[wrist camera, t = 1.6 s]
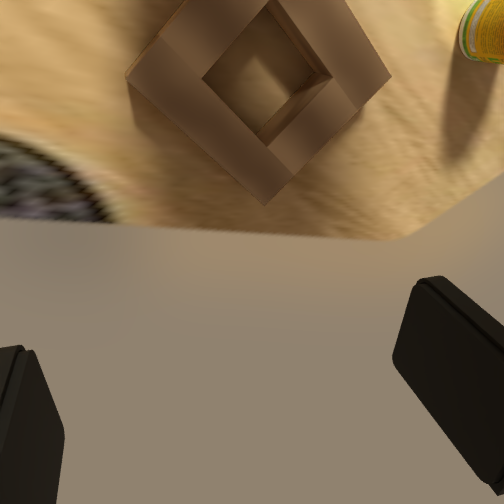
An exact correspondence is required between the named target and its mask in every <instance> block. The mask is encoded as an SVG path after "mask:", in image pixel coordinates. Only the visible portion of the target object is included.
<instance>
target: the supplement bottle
mask: <svg viewBox="0 0 504 504" xmlns="http://www.w3.org/2000/svg"><path fill="white" fill-rule="evenodd" d="M459 45H460V48H461V51H462V53H463V54H464V55H465V56H466V57H467V58H468V59H471V60H473V61H479V62H488V63H497V64H504V0H474V2H473V3H472V4H471V5H470V6H469V8H468V9H467V11H466V13H465V14H464V17H463V19H462V22H461V25H460V30H459Z"/></svg>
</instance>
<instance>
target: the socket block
mask: <svg viewBox="0 0 504 504" xmlns="http://www.w3.org/2000/svg"><path fill="white" fill-rule="evenodd" d="M264 6H266V8H267V9H268V10H269V12H270V13H271V14H272V16H273V17H274V18H275V20H276V21H277V22H278V24H279V25H280V26H281V28H282V29H283V30H284V32H285V33H286V34H287V36H288V37H289V39H290V40H291V41H292V43H293V44H294V45H295V47H296V48H297V49H298V51H299V52H300V53H301V55H302V56H303V57H304V59H305V60H306V61H307V63H308V64H309V65H310V67H311V68H312V69H313V71H314V73H313V74H312V75H311V76H310V77H309V78H308V79H307V80H306V82H305V83H304V84H303V85H302V86H301V87H300V88H299V89H298V90H297V91H296V92H295V93H294V94H293V95H292V97H291V98H290V99H289V100H288V101H287V102H286V103H285V104H284V105H283V106H282V107H281V108H280V109H279V110H278V112H277V113H276V114H275V115H274V116H273V117H272V118H271V119H270V120H269V121H268V122H267V123H266V124H265V125H264V126H263V128H262V129H261V130H260V131H259V132H258V133H257V134H256V135H255V134H254V133H253V132H252V131H251V130H250V129H249V128H248V127H247V126H246V125H245V124H244V123H243V122H242V121H241V120H240V119H239V117H238V116H237V115H236V114H235V113H234V112H233V111H232V110H231V109H230V108H229V107H228V106H227V105H226V104H225V103H224V102H223V101H222V100H221V99H220V98H219V97H218V96H217V95H216V94H215V93H214V91H213V90H212V89H211V88H210V87H209V86H208V85H207V84H206V83H205V82H204V81H203V80H202V79H201V78H202V77H203V76H204V75H205V74H206V72H207V71H208V70H209V69H210V68H211V67H212V66H213V64H214V63H215V62H216V61H217V60H218V59H219V57H220V56H221V55H222V54H223V53H224V52H225V51H226V49H227V48H228V47H229V46H230V45H231V44H232V42H233V41H234V40H235V39H236V38H237V37H238V36H239V34H240V33H241V32H242V31H243V30H244V29H245V27H246V26H247V25H248V24H249V23H250V22H251V21H252V19H253V18H254V17H255V16H256V15H257V14H258V12H259V11H260V10H261V9H262V8H263V7H264ZM390 78H391V75H390V73H389V72H388V70H387V68H386V67H385V65H384V64H383V62H382V60H381V59H380V57H379V55H378V54H377V52H376V51H375V49H374V47H373V46H372V44H371V42H370V41H369V39H368V38H367V36H366V34H365V33H364V31H363V29H362V28H361V26H360V24H359V23H358V21H357V20H356V18H355V16H354V15H353V13H352V11H351V10H350V8H349V7H348V5H347V3H346V2H345V0H184V2H183V3H182V4H181V5H180V7H179V8H178V9H177V10H176V11H175V13H174V14H173V15H172V16H171V18H170V19H169V20H168V21H167V22H166V24H165V25H164V26H163V27H162V29H161V30H160V31H159V32H158V33H157V35H156V36H155V37H154V38H153V40H152V41H151V42H150V43H149V44H148V46H147V47H146V48H145V49H144V51H143V52H142V53H141V54H140V55H139V57H138V58H137V59H136V60H135V62H134V63H133V64H132V65H131V66H130V68H129V69H128V70H127V71H126V73H125V79H126V80H127V81H128V82H129V83H130V84H131V85H132V86H133V87H134V88H135V89H137V90H138V91H139V92H140V93H141V94H142V95H143V96H144V97H145V98H146V99H148V100H149V101H150V102H151V103H152V104H153V105H154V106H155V107H156V108H157V109H159V110H160V111H161V112H162V113H163V114H164V115H165V116H166V117H167V118H168V119H170V120H171V121H172V122H173V123H174V124H175V125H176V126H177V127H178V128H179V129H181V130H182V131H183V132H184V133H185V134H186V135H187V136H188V137H189V138H190V139H192V140H193V141H194V142H195V143H196V144H197V145H198V146H199V147H200V148H201V149H203V150H204V151H205V152H206V153H207V154H208V155H209V156H210V157H211V158H212V159H214V160H215V161H216V162H217V163H218V164H219V165H220V166H221V167H222V168H223V169H225V170H226V171H227V172H228V173H229V174H230V175H231V176H232V177H233V178H234V179H236V180H237V181H238V182H239V183H240V184H241V185H242V186H243V187H244V188H245V189H247V190H248V191H249V192H250V193H251V194H252V195H253V196H254V197H255V198H256V199H258V200H259V201H260V202H261V203H262V204H263V205H264V206H265V205H266V204H267V203H268V202H269V201H270V200H271V199H272V198H273V197H274V196H275V195H276V194H277V193H278V192H279V191H280V190H281V189H282V188H283V187H284V186H285V185H286V184H287V183H288V182H289V181H290V180H291V179H292V178H293V176H294V175H295V174H296V173H297V172H298V171H299V170H300V169H301V168H302V167H303V166H304V165H305V164H306V163H307V162H308V161H309V160H310V159H311V158H312V157H313V156H314V155H315V154H316V153H317V152H318V151H319V150H320V149H321V148H322V147H323V146H324V145H325V144H326V143H327V142H328V141H329V140H330V139H331V138H332V137H333V136H334V135H335V134H336V133H337V132H338V131H339V130H340V129H341V128H342V127H343V126H344V125H345V124H346V123H347V122H348V121H349V120H350V119H351V118H352V117H353V116H354V115H355V114H356V113H357V112H358V111H359V110H360V109H361V108H362V106H363V105H364V104H365V103H366V102H367V101H368V100H369V99H370V98H371V97H372V96H373V95H374V94H375V93H376V92H377V91H378V90H379V89H380V88H381V87H382V86H383V85H384V84H385V83H386V82H387V81H388V80H389V79H390Z"/></svg>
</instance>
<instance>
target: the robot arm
mask: <svg viewBox="0 0 504 504" xmlns="http://www.w3.org/2000/svg"><path fill="white" fill-rule="evenodd" d="M392 360H393V364H394V366H395V368H396V369H397V370H398V372H399V373H400V374H401V376H402V377H403V378H404V380H405V381H406V382H407V384H408V385H409V386H410V388H411V389H412V390H413V392H414V393H415V394H416V395H417V397H418V398H419V400H420V401H421V402H422V404H423V405H424V406H425V408H426V409H427V410H428V412H429V413H430V414H431V416H432V417H433V418H434V419H435V421H436V422H437V423H438V425H439V426H440V427H441V429H442V430H443V431H444V433H445V434H446V435H447V437H448V438H449V439H450V441H451V442H452V443H453V445H454V446H455V447H456V449H457V450H458V451H459V453H460V454H461V455H462V457H463V458H464V459H465V461H466V462H467V463H468V465H469V466H470V467H471V468H472V470H473V471H474V472H475V474H476V475H477V476H478V477H479V479H480V480H481V481H483V482H484V483H486V484H489V486H490V487H491V488H492V490H493V491H494V492H495V493H496V495H497V496H499V495H502V494H504V326H503V325H501V324H500V323H499V322H498V321H497V320H496V319H494V318H493V317H492V316H491V315H490V314H488V313H487V312H486V311H485V310H484V309H482V308H481V307H480V306H479V305H478V304H477V303H475V302H474V301H473V300H472V299H471V298H469V297H468V296H467V295H466V294H465V293H463V292H462V291H461V290H460V289H458V288H457V287H456V286H455V285H454V284H453V283H451V282H450V281H449V280H448V279H447V278H445V277H443V276H434V277H428V278H422V279H419V280H418V281H417V283H416V285H415V286H413V288H412V291H411V294H410V297H409V301H408V304H407V307H406V311H405V314H404V317H403V321H402V324H401V328H400V331H399V334H398V338H397V341H396V345H395V348H394V351H393V355H392ZM64 440H65V436H64V427H63V424H62V421H61V419H60V416H59V414H58V411H57V408H56V406H55V403H54V401H53V398H52V395H51V393H50V390H49V388H48V385H47V382H46V380H45V377H44V375H43V372H42V369H41V367H40V364H39V362H38V359H37V357H36V354H35V352H34V351H33V350H28V351H26V350H25V348H24V347H23V346H22V345H16V346H10V347H3V348H0V504H56V500H57V492H58V485H59V478H60V471H61V463H62V455H63V449H64Z"/></svg>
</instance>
